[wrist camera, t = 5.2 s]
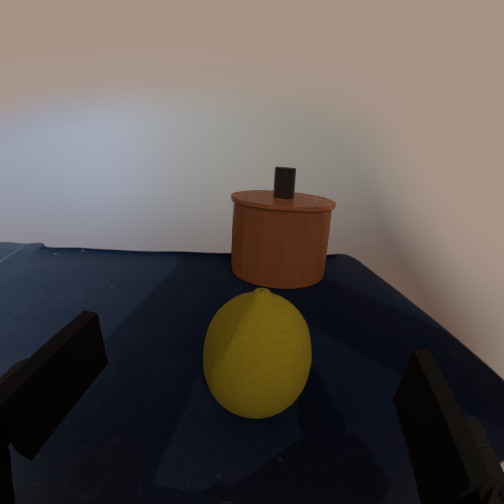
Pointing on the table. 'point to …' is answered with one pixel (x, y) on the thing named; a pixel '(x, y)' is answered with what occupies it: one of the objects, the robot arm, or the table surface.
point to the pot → (279, 246)
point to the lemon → (257, 354)
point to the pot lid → (283, 196)
